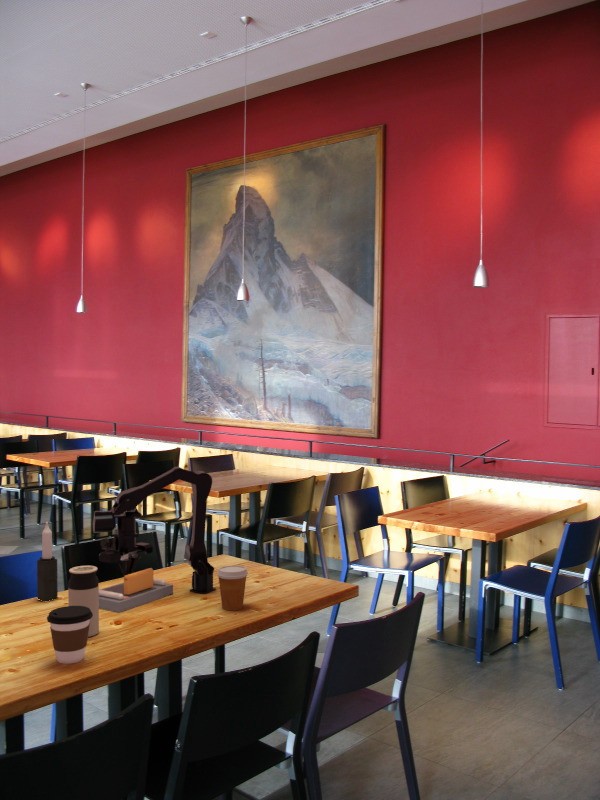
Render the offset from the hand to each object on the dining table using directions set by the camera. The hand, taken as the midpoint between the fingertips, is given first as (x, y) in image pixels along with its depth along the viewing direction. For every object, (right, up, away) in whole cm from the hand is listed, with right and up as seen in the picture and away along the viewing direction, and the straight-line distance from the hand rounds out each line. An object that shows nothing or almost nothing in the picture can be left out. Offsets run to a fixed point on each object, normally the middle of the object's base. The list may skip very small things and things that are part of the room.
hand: (126, 579), depth 237 cm
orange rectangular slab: (+5, -3, -3) cm, 6 cm away
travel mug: (-4, -7, -34) cm, 35 cm away
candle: (-25, -7, 0) cm, 26 cm away
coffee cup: (-2, -7, -53) cm, 54 cm away
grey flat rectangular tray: (+1, -6, 0) cm, 6 cm away
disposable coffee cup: (+35, -7, -10) cm, 37 cm away
